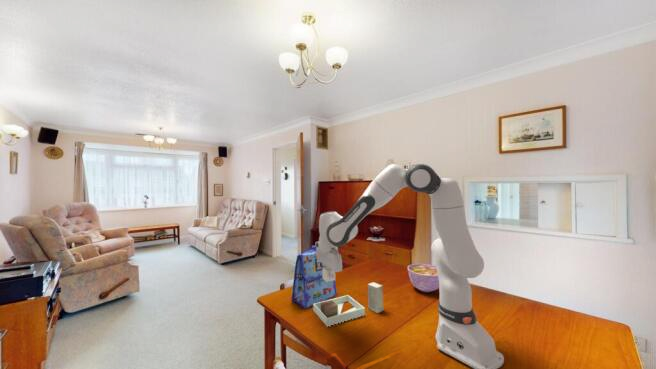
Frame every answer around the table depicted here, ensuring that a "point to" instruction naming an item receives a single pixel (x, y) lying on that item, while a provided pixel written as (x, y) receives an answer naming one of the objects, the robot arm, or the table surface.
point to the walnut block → (329, 308)
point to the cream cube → (327, 274)
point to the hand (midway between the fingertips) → (328, 275)
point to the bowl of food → (424, 277)
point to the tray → (347, 315)
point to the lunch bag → (310, 281)
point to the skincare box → (375, 297)
